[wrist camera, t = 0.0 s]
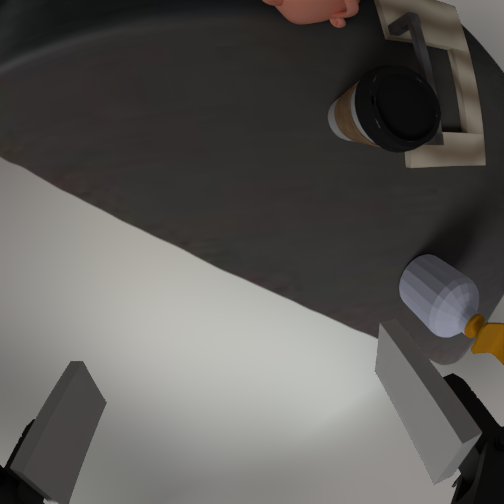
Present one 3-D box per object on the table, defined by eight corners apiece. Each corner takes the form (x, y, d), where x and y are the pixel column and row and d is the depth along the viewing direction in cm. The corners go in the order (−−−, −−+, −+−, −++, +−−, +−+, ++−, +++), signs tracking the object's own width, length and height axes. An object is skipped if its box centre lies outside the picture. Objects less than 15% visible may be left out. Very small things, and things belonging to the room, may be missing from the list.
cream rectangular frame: (370, -10, 27) (391, -32, 20) (450, 8, 27) (475, -4, 20) (406, 166, 36) (436, 172, 29) (479, 164, 36) (510, 169, 29)
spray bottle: (408, 249, 41) (523, 335, 17) (448, 258, 42) (553, 333, 18) (390, 302, 43) (478, 409, 20) (430, 306, 44) (516, 396, 21)
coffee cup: (316, 85, 33) (361, 52, 19) (376, 91, 33) (442, 70, 19) (319, 149, 36) (368, 150, 21) (378, 151, 36) (447, 157, 22)
